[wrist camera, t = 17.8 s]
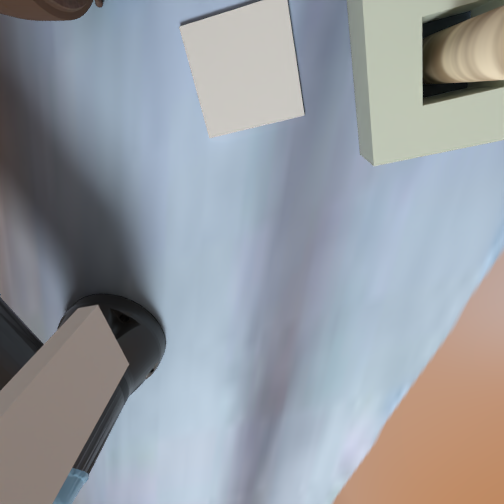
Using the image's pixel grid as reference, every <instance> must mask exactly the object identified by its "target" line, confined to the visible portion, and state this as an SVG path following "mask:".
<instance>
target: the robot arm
mask: <svg viewBox="0 0 504 504" xmlns="http://www.w3.org/2000/svg"><path fill="white" fill-rule="evenodd" d="M0 295H1V294H0ZM165 346H166V345H165V337H164V333H163V331H162V329H161V327H160V325H159V324H158V322H157V321H156V319H155V318H154V317H153V316H152V315H151V314H150V313H149V312H148V311H147V310H145V309H144V308H143V307H141V306H140V305H138V304H136V303H135V302H133V301H131V300H128V299H126V298H123V297H119V296H115V295H109V294H96V295H91V296H87V297H84V298H82V299H81V300H79V301H78V302H76V303H75V304H74V305H73V306H72V307H71V308H70V309H69V310H68V311H67V312H66V313H65V314H64V316H63V317H62V319H61V321H60V323H59V326H58V330H57V331H56V332H55V333H54V334H53V335H52V337H51V338H50V339H49V340H48V341H47V342H46V343H45V344H43V343H42V342H41V341H40V340H39V339H38V338H37V337H36V336H35V334H34V333H33V332H32V331H31V330H30V329H29V328H28V327H27V326H26V325H25V324H24V322H23V321H22V320H21V319H20V318H19V317H18V316H17V315H16V314H15V313H14V312H13V311H12V309H11V308H10V307H9V306H8V305H7V304H6V303H5V302H4V301H3V300H2V299H1V297H0V504H72V502H73V501H74V499H75V497H76V496H77V494H78V492H79V491H80V489H81V488H82V486H83V484H84V483H86V481H87V480H88V477H89V473H90V471H91V469H92V467H93V465H94V463H95V461H96V459H97V457H98V455H99V453H100V451H101V450H102V448H103V446H104V444H105V442H106V440H107V438H108V436H109V434H110V432H111V430H112V428H113V426H114V424H115V422H116V420H117V418H118V416H119V414H120V412H121V410H122V408H123V406H124V405H125V403H126V401H127V399H128V397H129V396H130V395H131V394H132V393H133V392H134V391H135V390H136V389H137V388H138V387H139V386H140V385H141V384H142V383H143V382H144V381H145V380H146V379H147V378H148V377H150V376H151V375H152V374H153V373H154V371H155V370H156V369H157V367H158V365H159V363H160V361H161V359H162V357H163V355H164V352H165Z"/></svg>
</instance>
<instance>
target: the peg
mask: <svg viewBox="0 0 504 504" xmlns="http://www.w3.org/2000/svg"><path fill="white" fill-rule="evenodd" d="M494 80H504V5H503V6H500V7H498V8H495V9H493V10H490V11H488V12H485V13H483V14H481V15H478V16H476V17H473V18H471V19H468V20H466V21H463V22H461V23H458V24H456V25H453V26H451V27H448V28H446V29H444V30H441V31H439V32H436V33H434V34H431V35H429V36H427V37H425V38H424V39H422V84H444V83H460V82H477V81H494Z"/></svg>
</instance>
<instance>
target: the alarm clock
mask: <svg viewBox="0 0 504 504" xmlns="http://www.w3.org/2000/svg"><path fill="white" fill-rule="evenodd" d="M92 2H93V0H0V13H1V14H5V15H9V16H13V17H16V18H21V19H27V20H36V21H64V20H74V19H77V18H80V17H81V16H83V15H84V14H85V13H86V12H87V10H88V9H89V8H90V6H91V4H92ZM95 4H96V6H97V7H102V6H103V2H102V0H95Z"/></svg>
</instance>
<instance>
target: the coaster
mask: <svg viewBox="0 0 504 504" xmlns="http://www.w3.org/2000/svg"><path fill="white" fill-rule="evenodd" d="M179 28H180V32H181V36H182V39H183V43H184V47H185V50H186V54H187V58H188V61H189V65H190V69H191V72H192V76H193V80H194V83H195V87H196V90H197V94H198V98H199V101H200V105H201V109H202V112H203V116H204V120H205V123H206V127H207V131H208V134H209V138H213V137H217V136H221V135H225V134H229V133H233V132H237V131H242V130H246V129H250V128H254V127H258V126H262V125H267V124H271V123H275V122H279V121H283V120H287V119H291V118H296V117H300V116H304V108H303V102H302V95H301V88H300V82H299V75H298V68H297V62H296V55H295V48H294V42H293V35H292V28H291V21H290V15H289V8H288V1H287V0H262V1H259V2H256V3H253V4H250V5H246V6H243V7H240V8H237V9H234V10H231V11H227V12H224V13H221V14H218V15H215V16H212V17H208V18H205V19H202V20H199V21H196V22H193V23H189V24H186V25H183V26H180V27H179Z"/></svg>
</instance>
